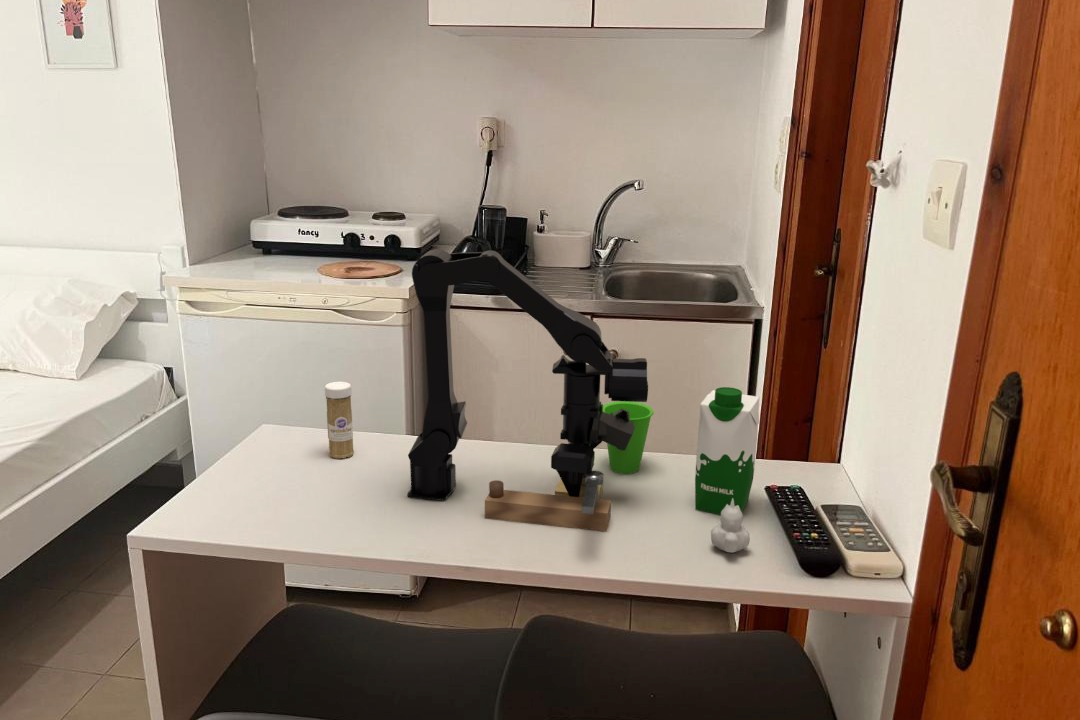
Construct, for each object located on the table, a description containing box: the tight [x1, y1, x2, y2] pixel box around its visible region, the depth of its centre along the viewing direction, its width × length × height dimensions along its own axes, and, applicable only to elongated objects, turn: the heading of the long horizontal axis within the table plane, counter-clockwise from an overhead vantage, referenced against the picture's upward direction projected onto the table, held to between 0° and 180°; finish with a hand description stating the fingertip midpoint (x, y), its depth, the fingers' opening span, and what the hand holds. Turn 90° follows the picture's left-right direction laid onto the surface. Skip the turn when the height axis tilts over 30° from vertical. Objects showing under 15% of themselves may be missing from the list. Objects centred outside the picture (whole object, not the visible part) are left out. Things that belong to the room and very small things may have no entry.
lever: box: [582, 470, 604, 514], centre depth 124 cm, size 12×3×1 cm, turn 172°
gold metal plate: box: [554, 478, 604, 500], centre depth 139 cm, size 7×6×2 cm
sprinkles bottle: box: [324, 381, 355, 459], centre depth 153 cm, size 5×5×14 cm
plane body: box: [484, 480, 612, 532], centre depth 131 cm, size 19×4×7 cm, turn 78°
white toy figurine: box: [710, 499, 751, 553], centre depth 121 cm, size 5×7×8 cm
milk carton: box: [694, 386, 760, 516], centre depth 134 cm, size 9×9×20 cm
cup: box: [603, 401, 654, 475], centre depth 149 cm, size 9×9×11 cm
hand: (578, 489), depth 139 cm, fingers open, 8 cm apart
